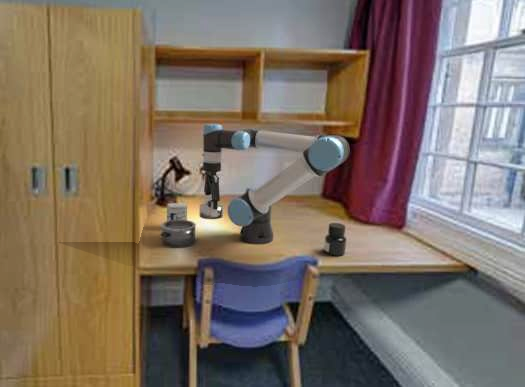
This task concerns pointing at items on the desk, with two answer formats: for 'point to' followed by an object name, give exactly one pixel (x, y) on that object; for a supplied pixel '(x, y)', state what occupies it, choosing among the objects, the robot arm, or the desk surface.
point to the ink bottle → (335, 240)
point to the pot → (178, 233)
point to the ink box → (176, 211)
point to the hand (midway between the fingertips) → (211, 212)
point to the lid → (206, 211)
